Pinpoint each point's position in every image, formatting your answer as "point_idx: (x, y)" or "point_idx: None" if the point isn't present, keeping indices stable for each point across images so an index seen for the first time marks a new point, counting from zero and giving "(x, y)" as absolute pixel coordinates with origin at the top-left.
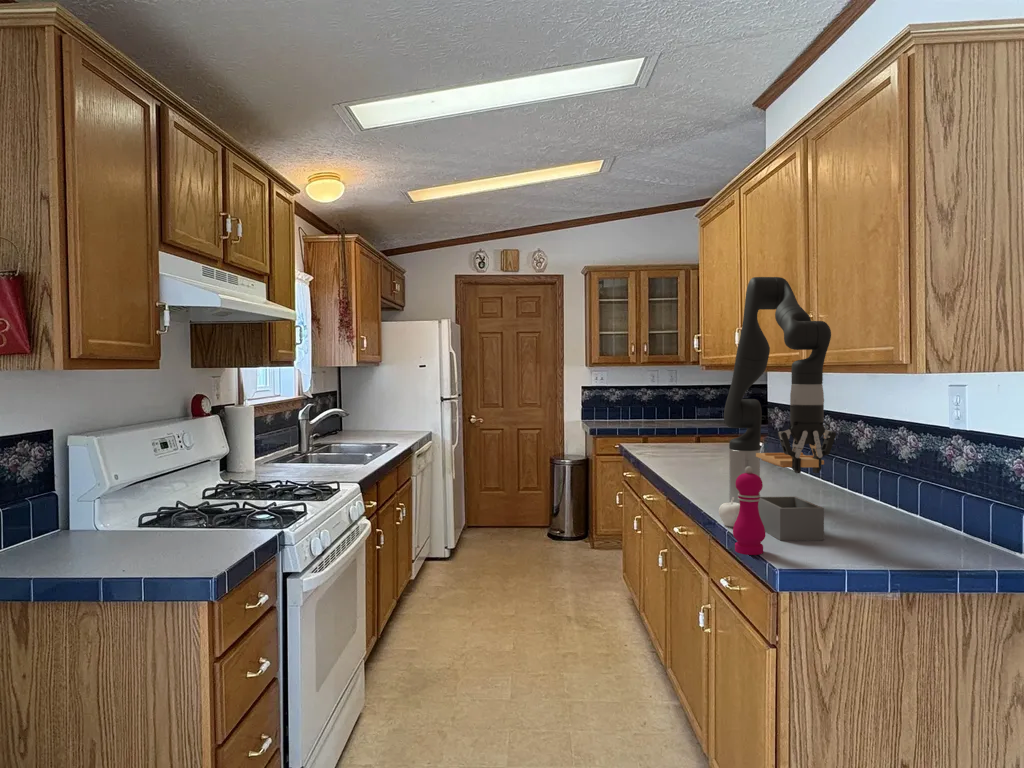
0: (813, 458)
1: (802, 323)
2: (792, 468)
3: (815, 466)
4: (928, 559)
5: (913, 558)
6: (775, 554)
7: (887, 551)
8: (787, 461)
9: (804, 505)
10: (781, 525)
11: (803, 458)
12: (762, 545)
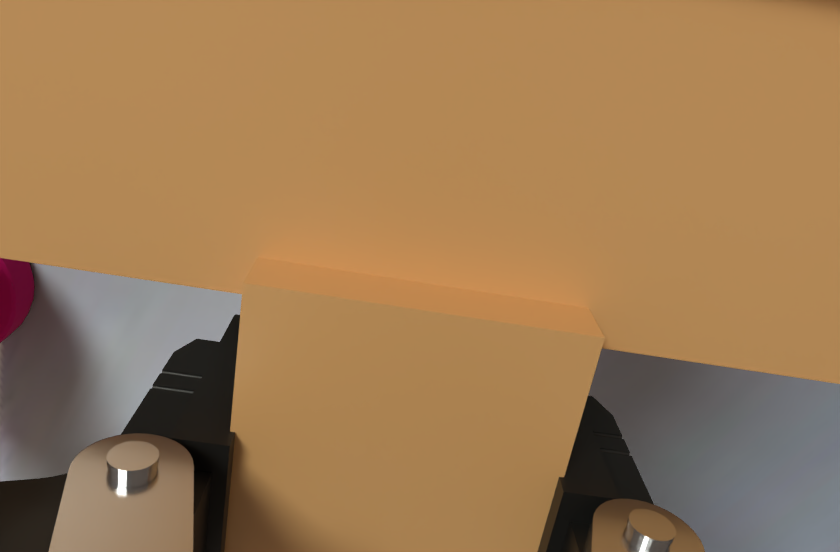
0: (547, 512)
1: None
2: (176, 361)
3: None
4: (768, 547)
5: (719, 523)
6: (88, 346)
7: (710, 406)
8: (113, 272)
9: None
10: None
11: (359, 469)
12: (3, 331)
